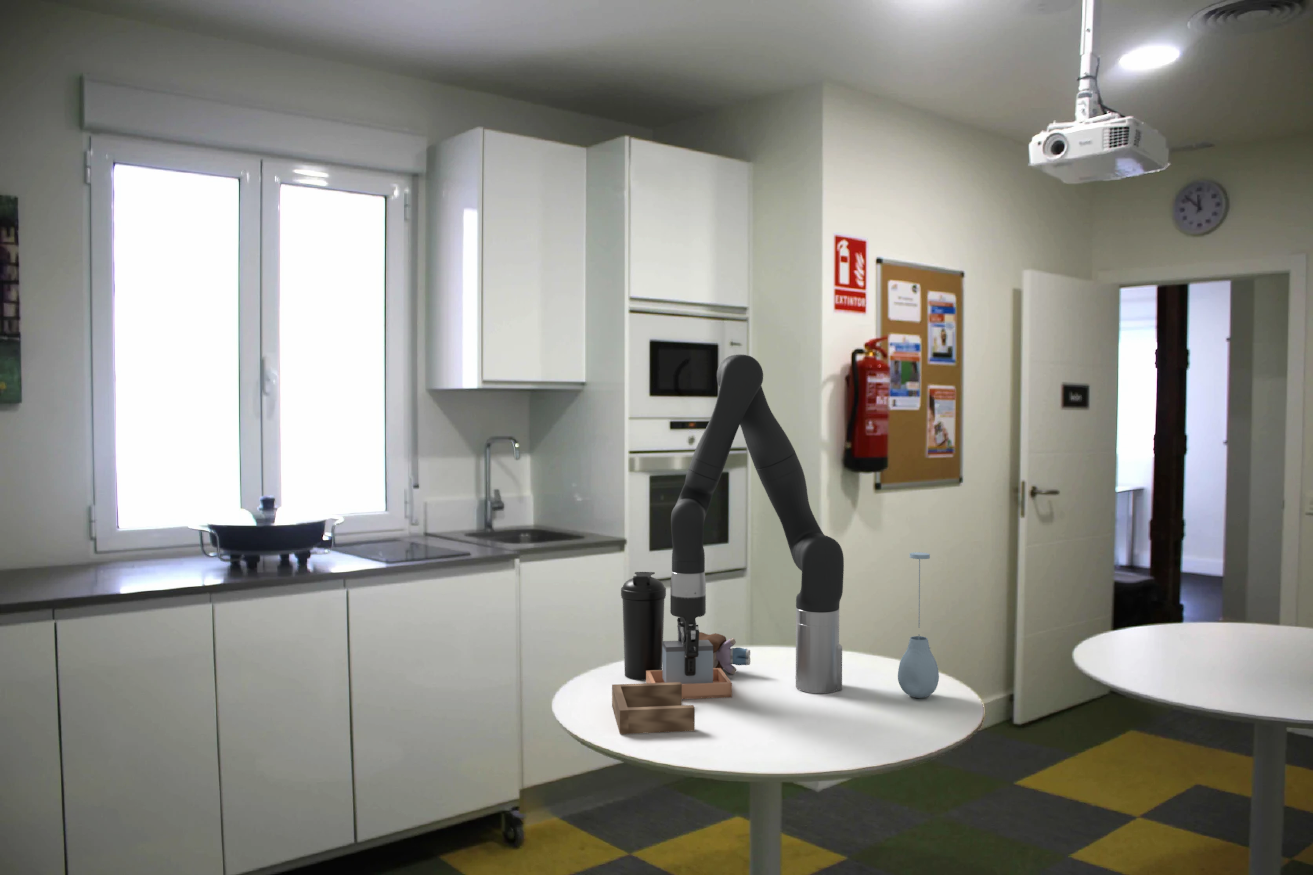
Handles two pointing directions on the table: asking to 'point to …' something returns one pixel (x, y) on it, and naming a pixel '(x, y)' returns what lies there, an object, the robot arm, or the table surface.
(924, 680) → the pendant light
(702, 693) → the tray
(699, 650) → the grey rectangular prism
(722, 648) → the toy
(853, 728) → the table surface
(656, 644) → the water bottle
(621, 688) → the bay
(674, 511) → the robot arm
